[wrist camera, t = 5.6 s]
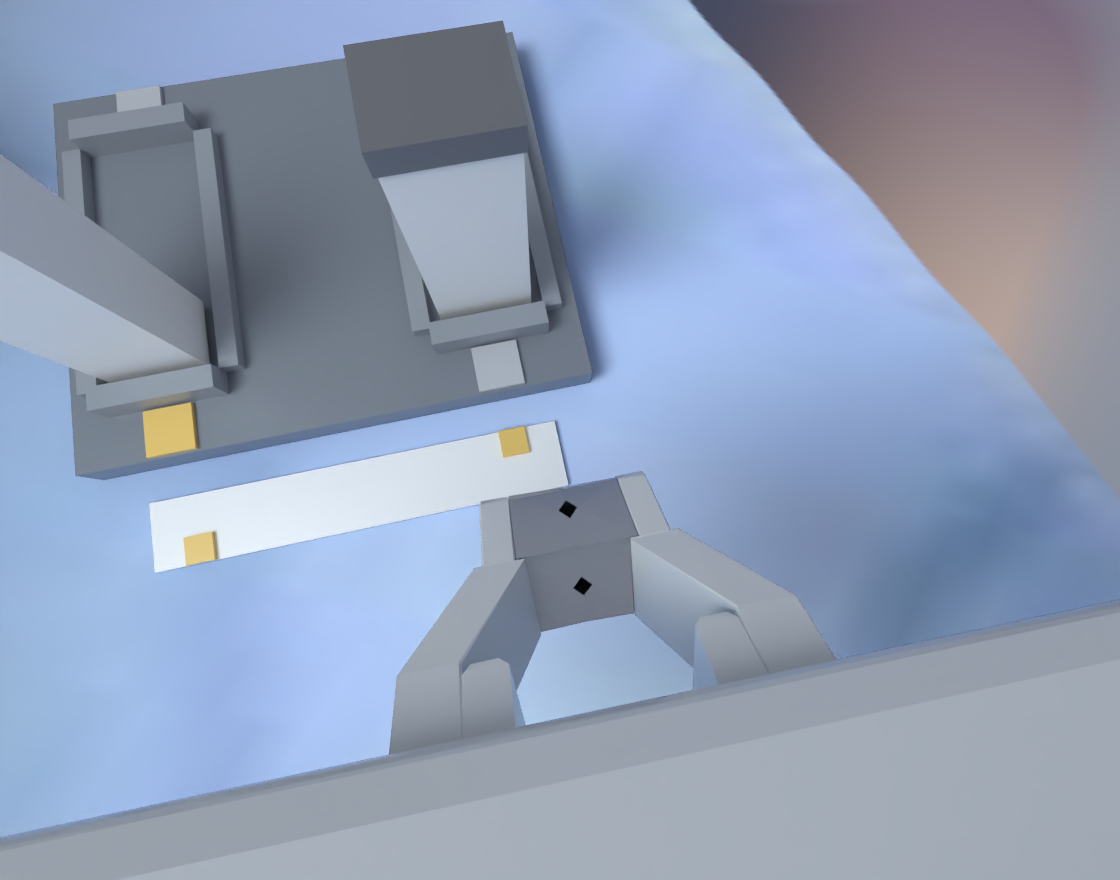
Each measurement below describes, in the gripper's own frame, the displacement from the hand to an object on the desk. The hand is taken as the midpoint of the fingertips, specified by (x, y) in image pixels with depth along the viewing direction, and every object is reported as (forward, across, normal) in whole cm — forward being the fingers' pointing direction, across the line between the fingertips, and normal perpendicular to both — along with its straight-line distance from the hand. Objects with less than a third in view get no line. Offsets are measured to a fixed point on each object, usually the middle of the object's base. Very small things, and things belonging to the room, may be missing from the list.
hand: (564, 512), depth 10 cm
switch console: (+20, +8, +1) cm, 22 cm away
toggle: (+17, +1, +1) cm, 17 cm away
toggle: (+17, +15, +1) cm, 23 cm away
